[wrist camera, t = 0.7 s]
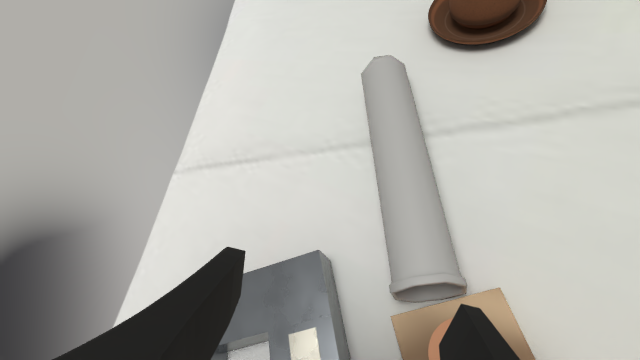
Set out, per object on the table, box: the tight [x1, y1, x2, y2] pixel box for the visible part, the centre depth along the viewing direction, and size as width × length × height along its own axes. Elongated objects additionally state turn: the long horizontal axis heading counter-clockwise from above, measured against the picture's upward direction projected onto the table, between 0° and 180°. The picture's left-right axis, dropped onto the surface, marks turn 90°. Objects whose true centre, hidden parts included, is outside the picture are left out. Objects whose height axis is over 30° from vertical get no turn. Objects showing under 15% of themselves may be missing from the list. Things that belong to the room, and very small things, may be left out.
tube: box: [361, 55, 467, 302], centre depth 30 cm, size 5×5×25 cm
